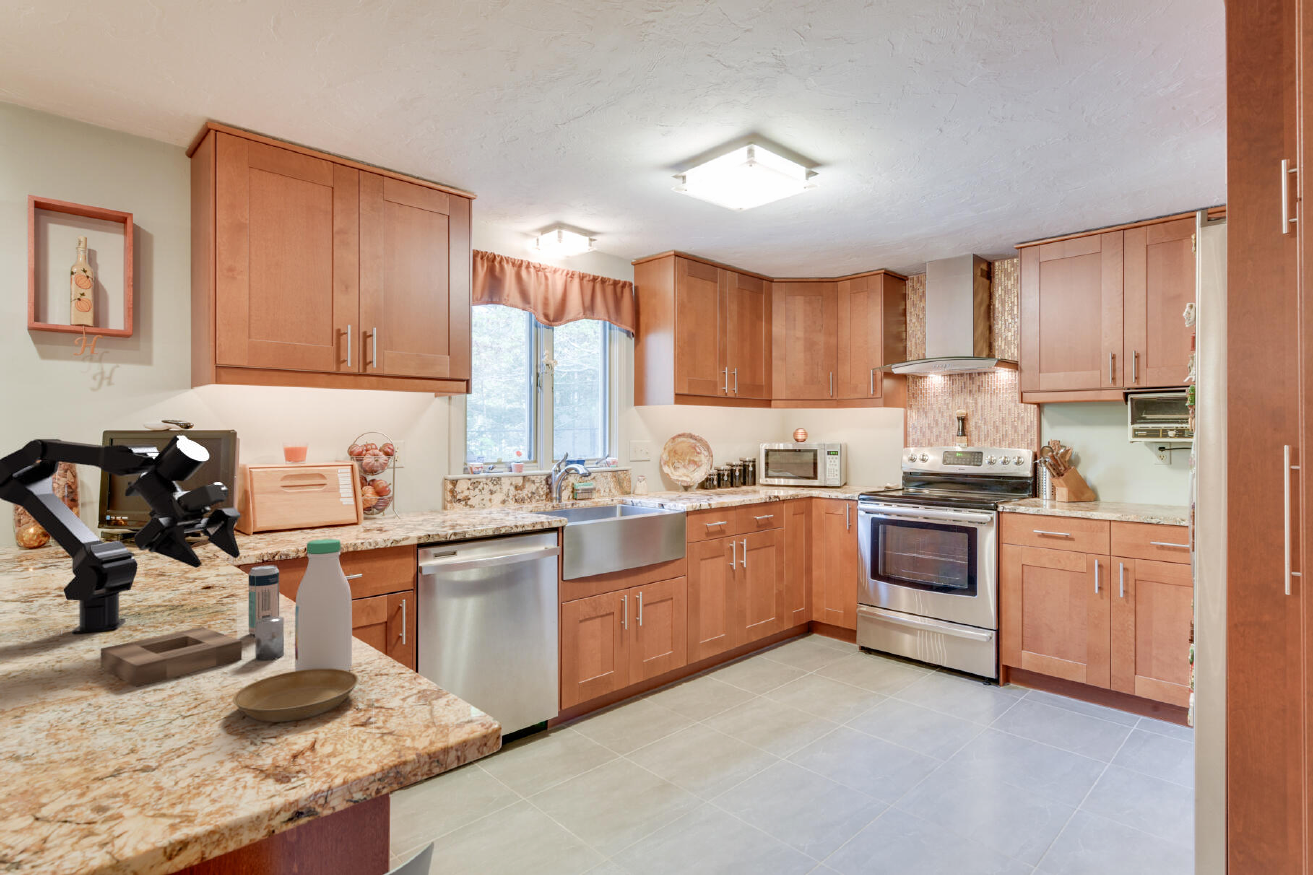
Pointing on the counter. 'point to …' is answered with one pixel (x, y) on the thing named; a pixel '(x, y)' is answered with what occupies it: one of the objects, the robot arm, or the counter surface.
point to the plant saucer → (295, 694)
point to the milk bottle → (323, 611)
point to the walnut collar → (170, 655)
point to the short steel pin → (269, 638)
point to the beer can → (263, 594)
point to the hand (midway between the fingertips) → (219, 561)
